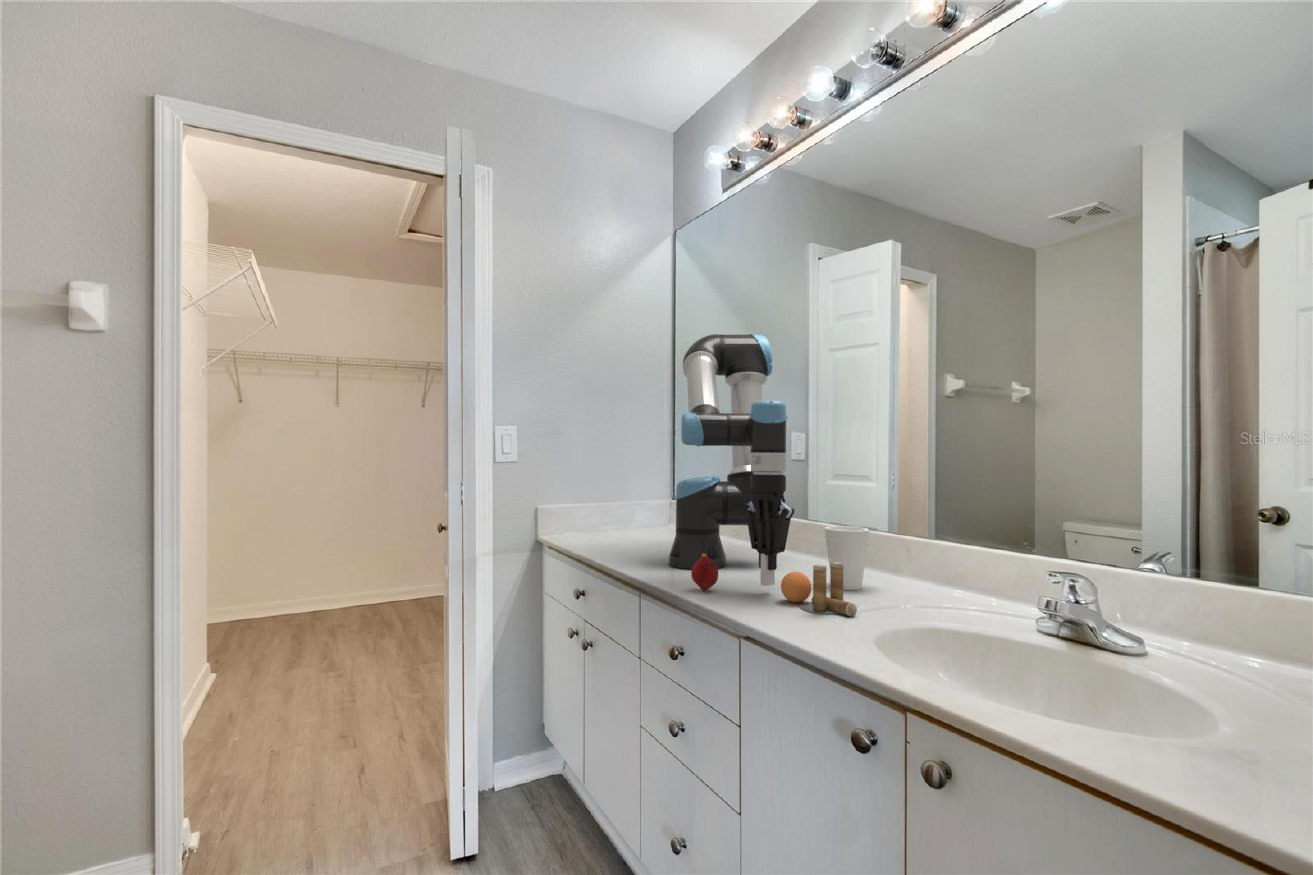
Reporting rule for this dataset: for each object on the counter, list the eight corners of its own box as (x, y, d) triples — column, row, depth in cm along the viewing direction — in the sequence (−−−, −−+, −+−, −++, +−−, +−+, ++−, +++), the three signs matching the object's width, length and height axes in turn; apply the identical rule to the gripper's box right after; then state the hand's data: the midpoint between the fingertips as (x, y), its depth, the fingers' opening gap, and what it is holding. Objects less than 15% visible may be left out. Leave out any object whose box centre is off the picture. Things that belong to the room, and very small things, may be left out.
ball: (816, 585, 116) (808, 611, 118) (813, 569, 122) (805, 594, 124) (785, 579, 117) (778, 605, 119) (783, 563, 122) (777, 588, 124)
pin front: (816, 591, 117) (853, 600, 110) (821, 600, 118) (858, 609, 110) (809, 600, 116) (846, 610, 109) (815, 609, 117) (852, 619, 109)
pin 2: (830, 606, 117) (830, 561, 117) (842, 606, 117) (843, 562, 117) (830, 609, 115) (830, 564, 115) (843, 610, 114) (843, 564, 114)
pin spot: (800, 601, 120) (800, 600, 120) (843, 604, 118) (843, 603, 118) (799, 612, 112) (799, 611, 112) (846, 615, 110) (846, 614, 110)
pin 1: (813, 609, 114) (813, 564, 114) (826, 610, 114) (826, 565, 114) (813, 613, 112) (813, 566, 112) (826, 614, 111) (826, 567, 112)
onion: (718, 588, 132) (718, 551, 132) (718, 594, 126) (718, 556, 126) (691, 587, 132) (692, 551, 133) (690, 593, 127) (691, 555, 127)
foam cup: (816, 585, 135) (816, 528, 135) (839, 580, 141) (839, 525, 141) (855, 593, 128) (855, 532, 128) (876, 587, 134) (876, 529, 134)
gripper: (734, 472, 131) (733, 581, 130) (778, 474, 120) (778, 592, 120) (758, 472, 135) (758, 577, 135) (803, 474, 125) (803, 588, 124)
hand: (767, 584), depth 127 cm, fingers closed
